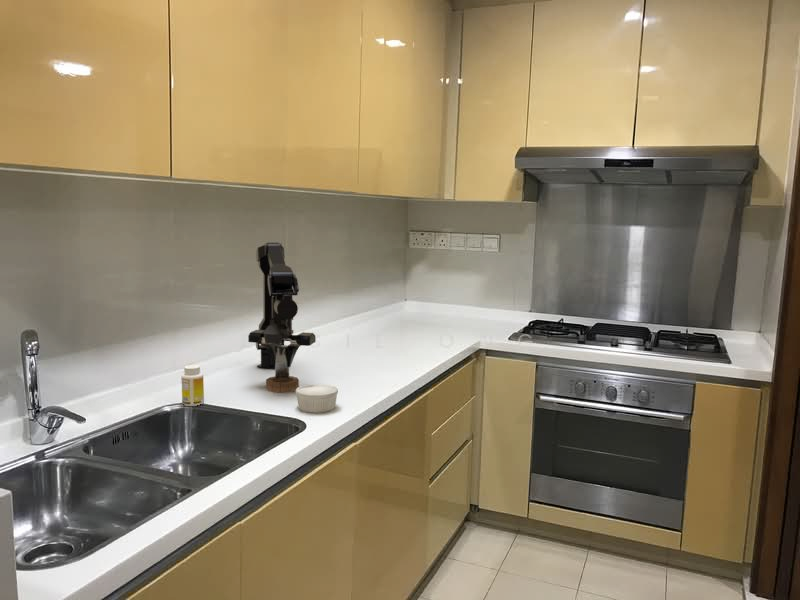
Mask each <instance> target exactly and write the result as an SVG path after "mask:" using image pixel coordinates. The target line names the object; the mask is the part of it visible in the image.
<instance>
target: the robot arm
mask: <svg viewBox="0 0 800 600" xmlns="http://www.w3.org/2000/svg"><path fill="white" fill-rule="evenodd" d="M255 252H256V253H255V257H256V258H255V259H256V262H258V263H257V266H258V268H259V270H260V271H261V273H262V277H263V279H262V282H263V283H262V285H263V286H262V287H263V291H262V292H263V293H262V295H263V299H262V300H263V302H262V303H263V307H262V308H263V314H262V315H263V318H262V319H261V321H260V323H259V324H258V329H255V330H253V331H251V332H249V334H248V338H247V340H248V342H249V343H255V348H256V349H257V351H259V350H260V364H258V365H256V368H261V369H274V370H275V346H278V345H285V342H290V344H288V345H287V347H288V367H289V368H291V366H292V364H293V361H294V358H295V356H296V354H297V352H298V350H299V348H300V347H302V346H304V347H305V346H308V347H309V346H311V345H313V344H315V343H316V340H317V339H316V338H317V337H316V335H315V333H314V332H304V331H303V332H300V333H298V334H294V329H293V321H294V318H295V317H296V316H297V314H298V310H299V307H298V304H297V303H296V302H295V300H293V296H298V295H299V291H300V287H299V282H298V278H297V277H296V274H295V273H294V271H293V270H292V269H293V268H291V267H290V266H288V265H286V261H285V259H286V257H285V247H284V246H283V244H282V243H281V242H265V243H264V245H261V246H258V247H257V249H256V251H255Z"/></svg>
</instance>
